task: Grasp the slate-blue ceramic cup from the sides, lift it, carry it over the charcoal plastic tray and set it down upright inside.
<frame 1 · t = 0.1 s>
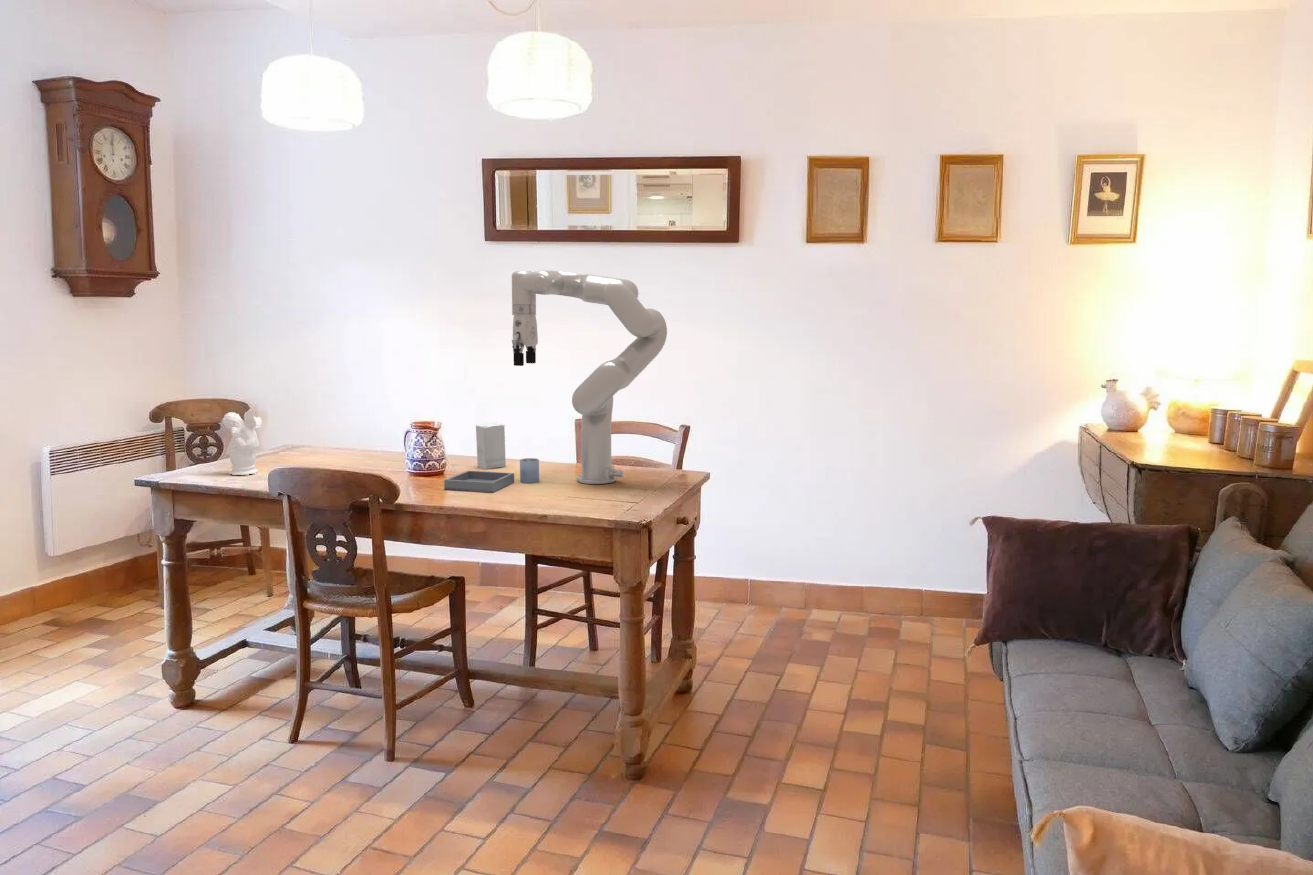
hand: (524, 364, 310), 37 cm above the table, tool pointing down, fingers open, 9 cm apart
cherub figurine: (249, 473, 321), on the table
tray: (480, 486, 301), on the table
cup: (529, 481, 309), on the table
skincare box: (491, 467, 332), on the table
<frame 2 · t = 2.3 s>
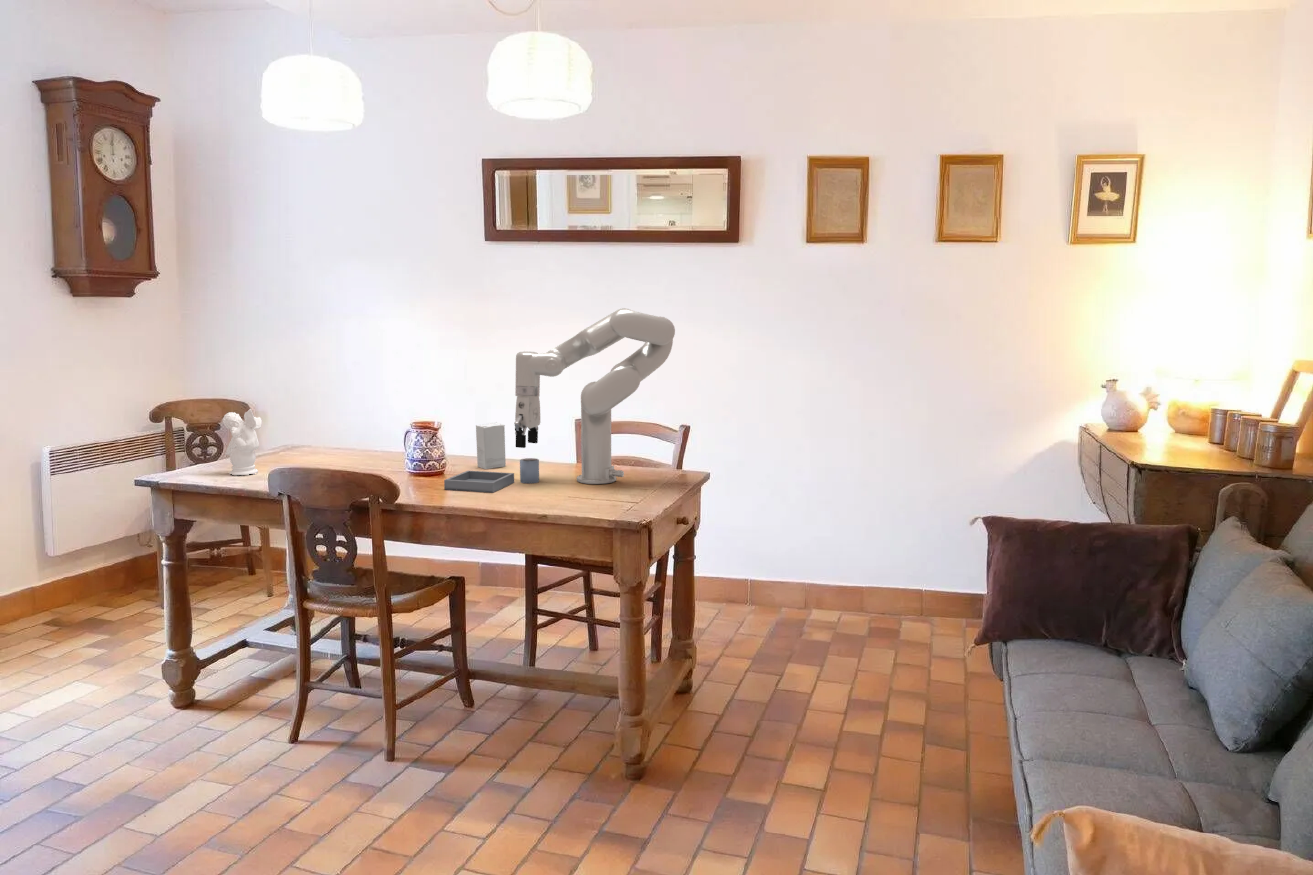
hand: (526, 445, 307), 12 cm above the table, tool pointing down, fingers open, 9 cm apart
nothing on the table moved.
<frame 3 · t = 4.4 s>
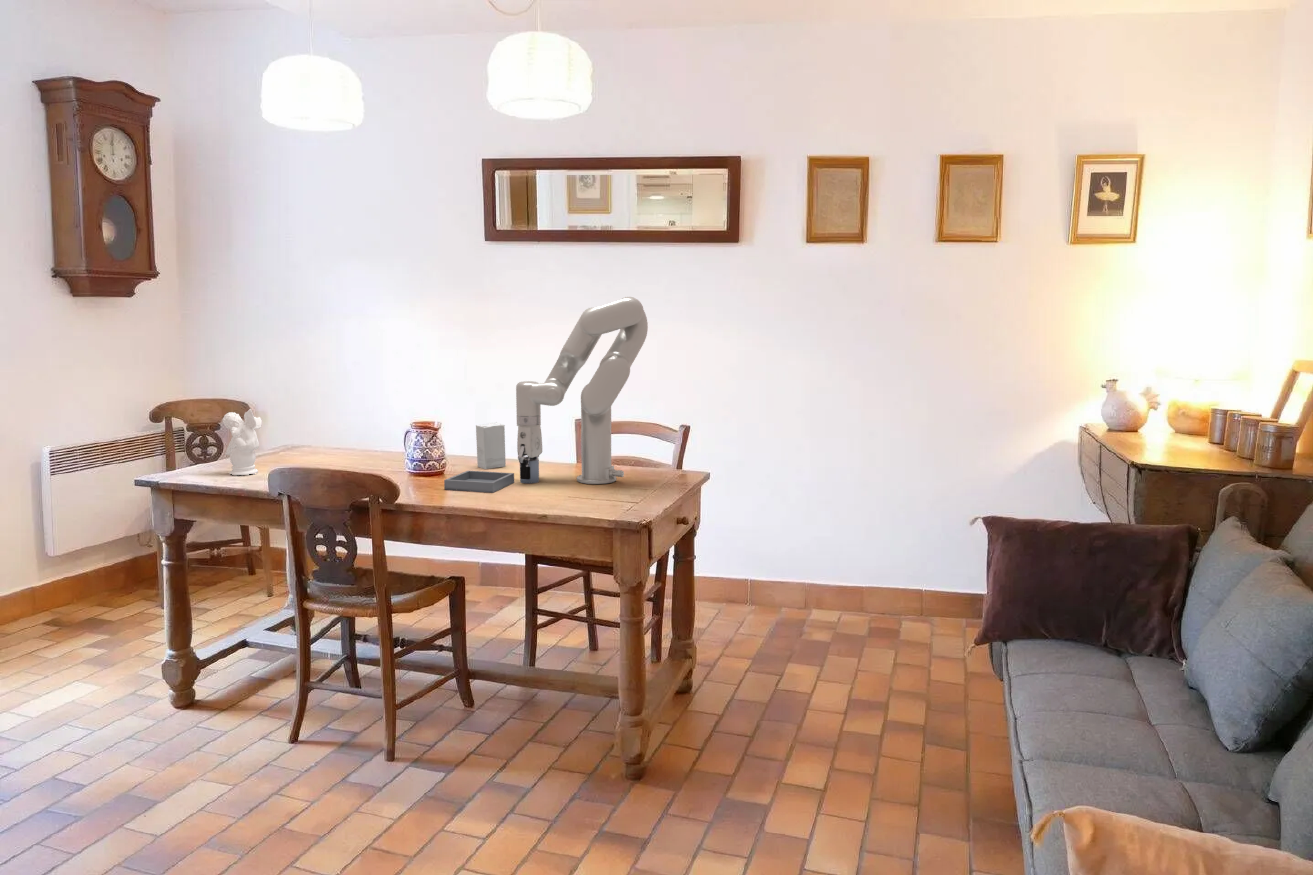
hand: (529, 476, 308), 2 cm above the table, tool pointing down, fingers closed on cup, 6 cm apart
cup: (529, 481, 309), on the table, touching gripper
everything else where it was.
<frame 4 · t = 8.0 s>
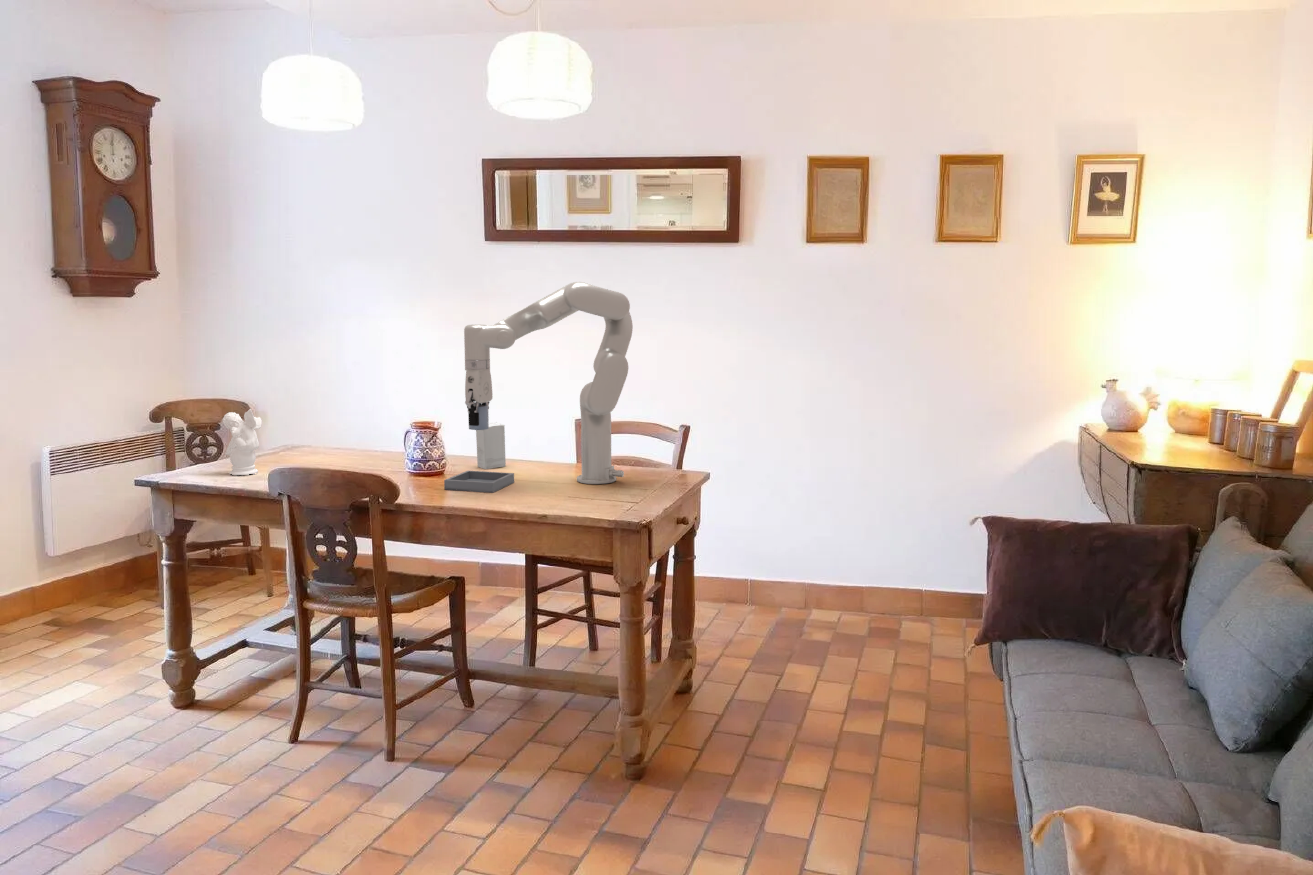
hand: (478, 423, 298), 20 cm above the table, tool pointing down, fingers closed on cup, 6 cm apart
cup: (478, 428, 298), point 18 cm above the table, touching gripper
everything else where it was.
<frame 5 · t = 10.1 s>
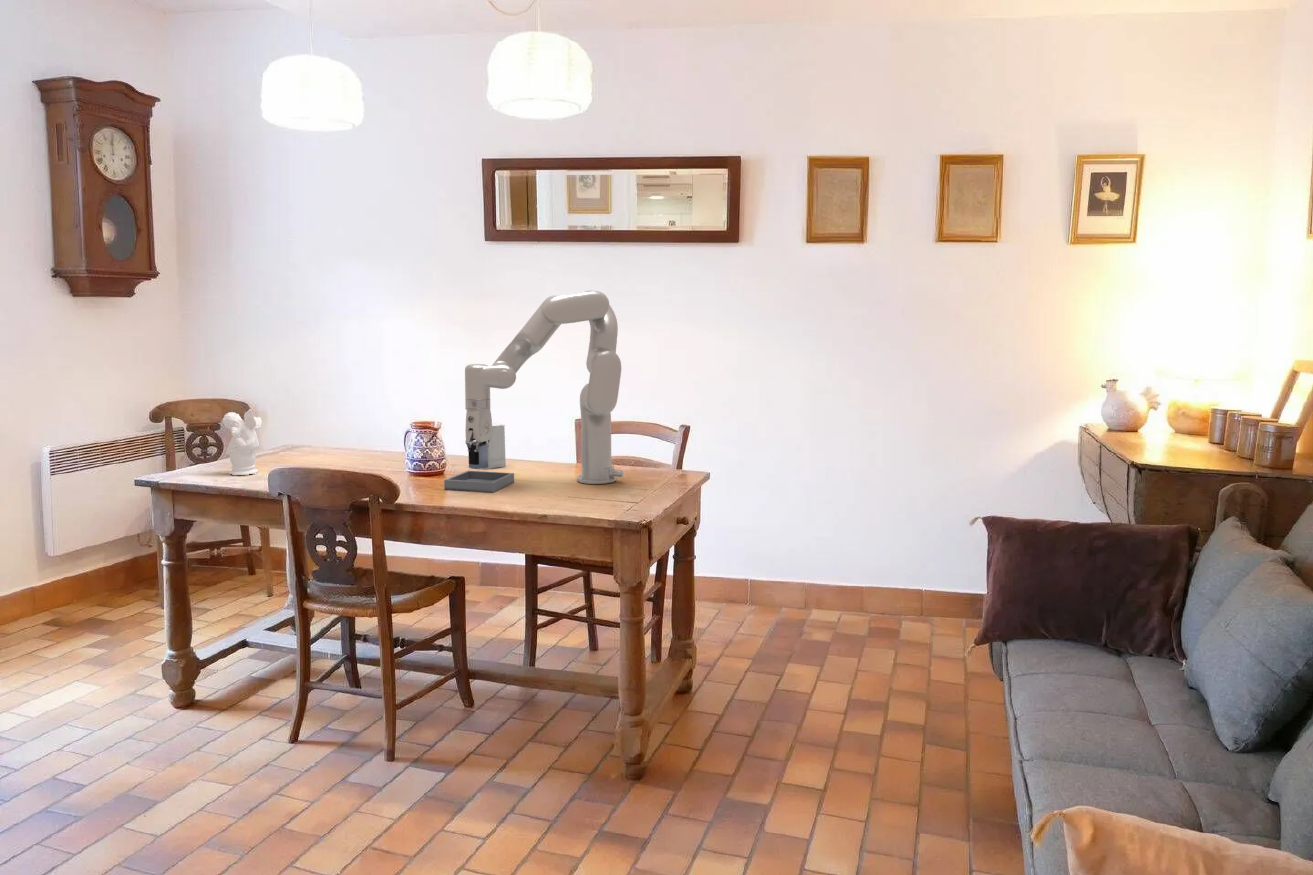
hand: (478, 461, 300), 8 cm above the table, tool pointing down, fingers closed on cup, 6 cm apart
cup: (478, 466, 300), point 6 cm above the table, touching gripper
everything else where it was.
when the fingers open (4 cm above the table, at t = 11.8 s): cup drops 2 cm, resting on tray.
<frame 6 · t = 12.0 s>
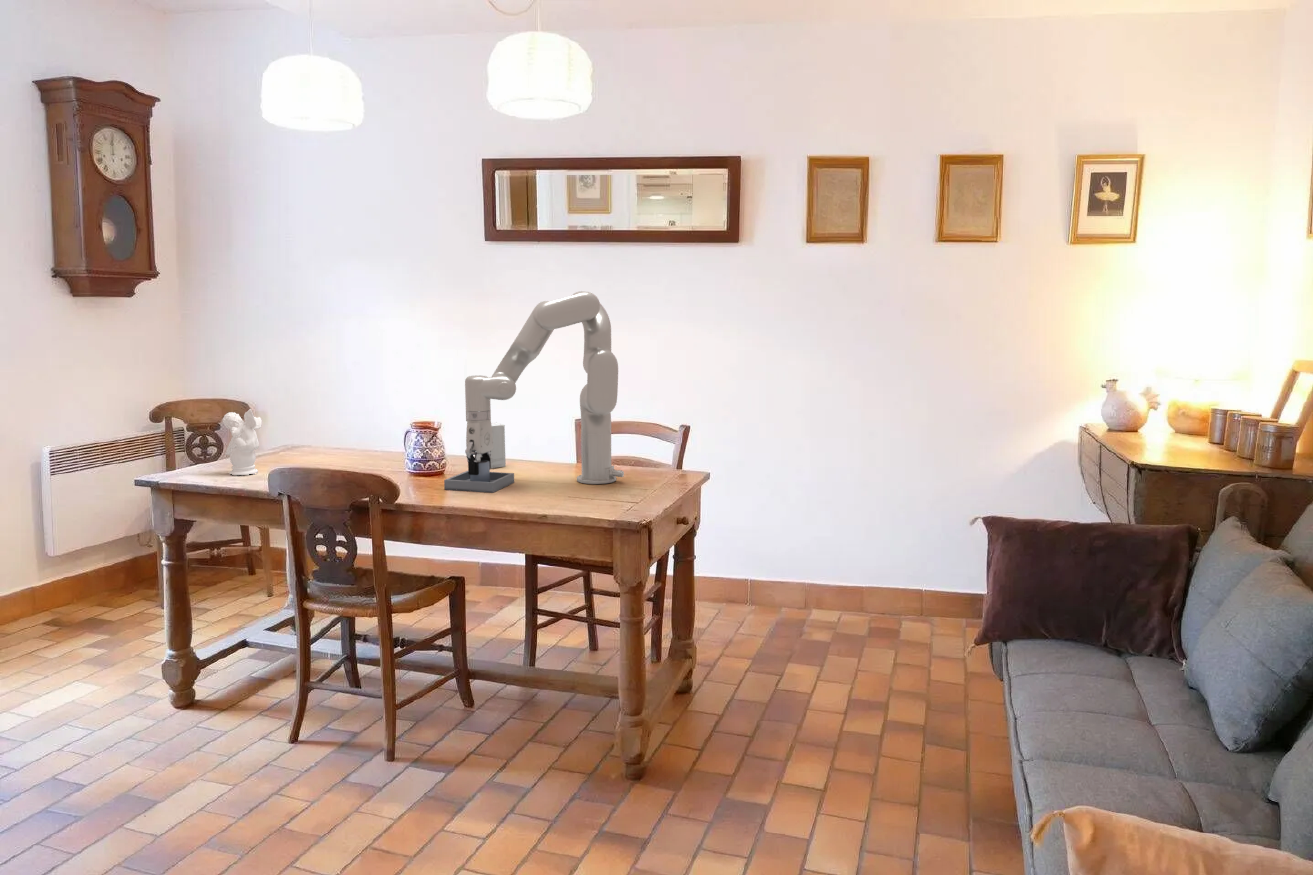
hand: (479, 471, 301), 4 cm above the table, tool pointing down, fingers open, 8 cm apart
cup: (480, 484, 301), point 1 cm above the table, touching tray
everything else where it was.
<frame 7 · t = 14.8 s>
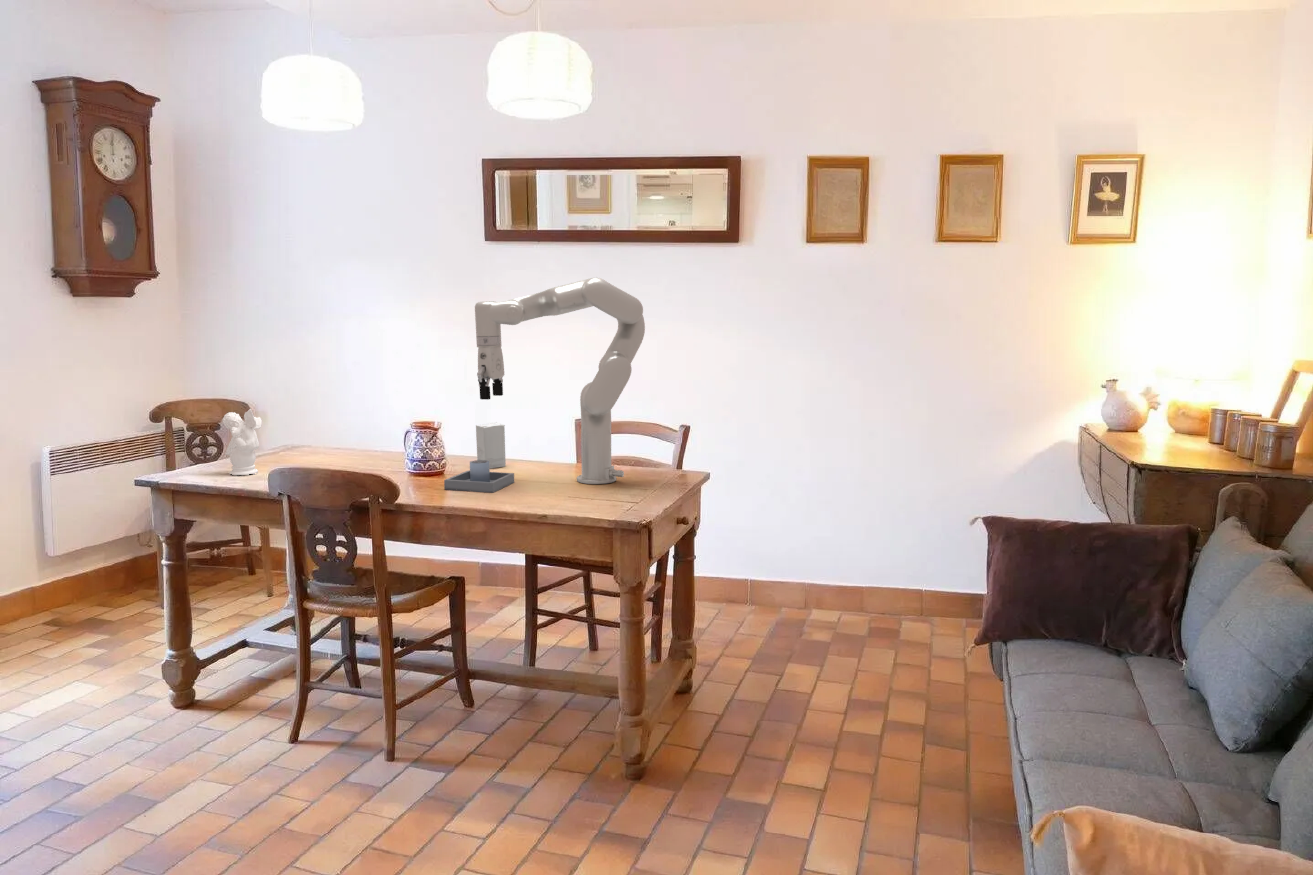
hand: (491, 397, 301), 27 cm above the table, tool pointing down, fingers open, 9 cm apart
nothing on the table moved.
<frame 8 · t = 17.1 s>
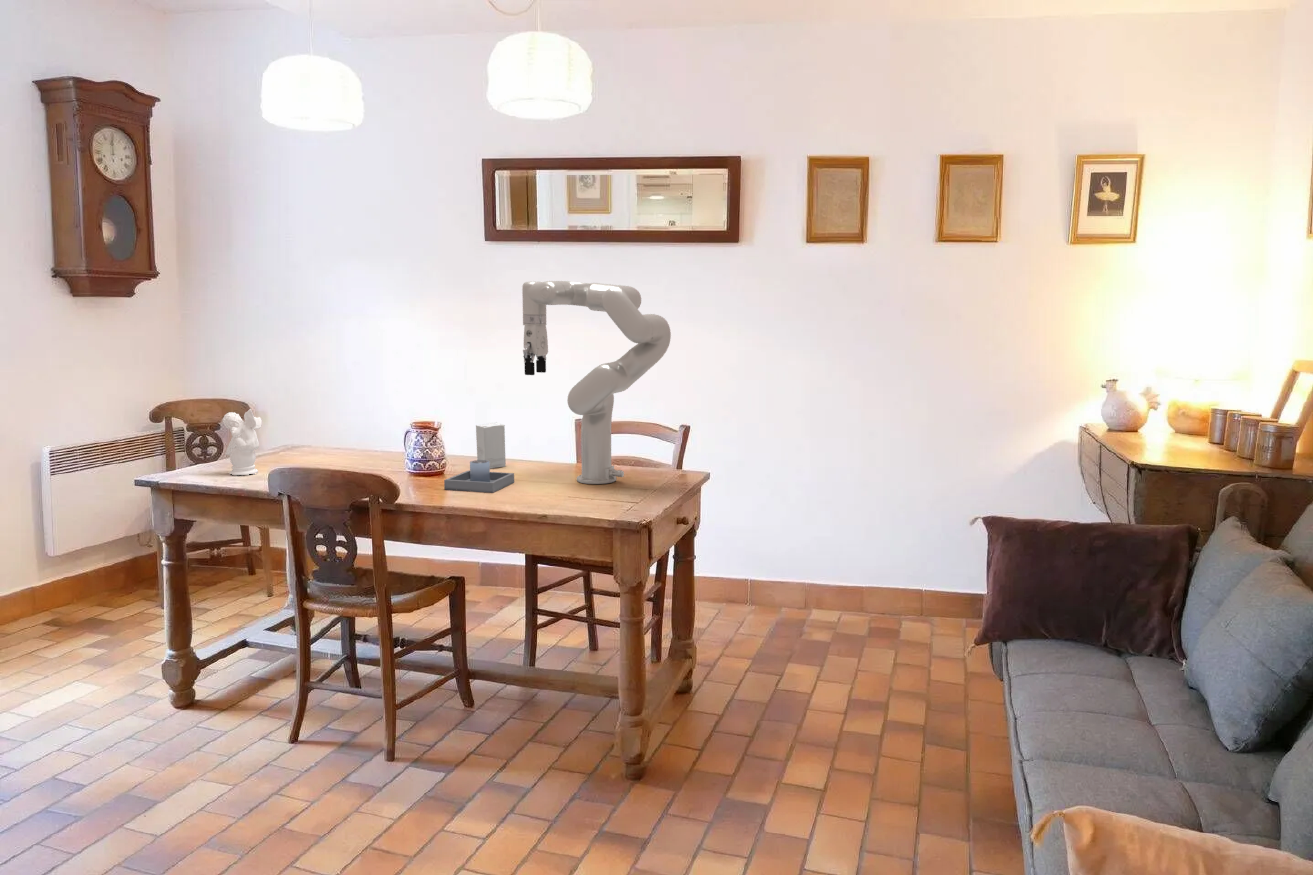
hand: (535, 373, 314), 33 cm above the table, tool pointing down, fingers open, 9 cm apart
nothing on the table moved.
at the end: cup inside the target area on the tray (0.1 cm from its centre), point 0.6 cm above the tray's base; cup tilted 1°; the gripper is holding nothing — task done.
